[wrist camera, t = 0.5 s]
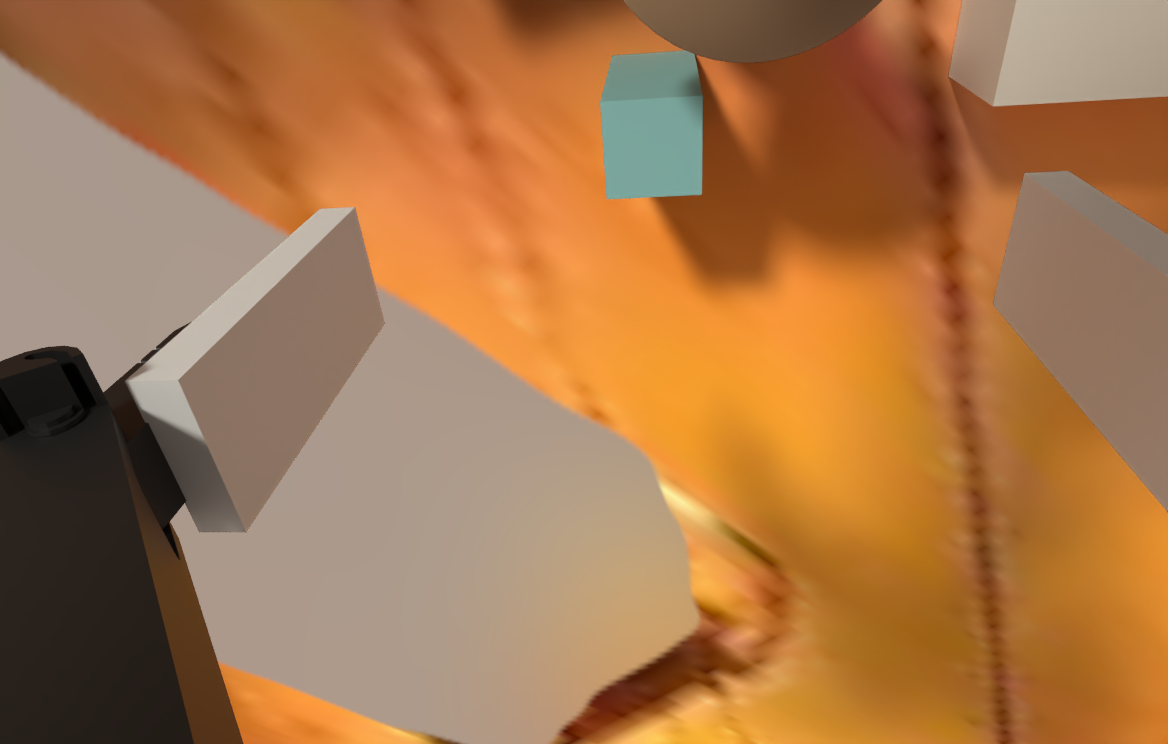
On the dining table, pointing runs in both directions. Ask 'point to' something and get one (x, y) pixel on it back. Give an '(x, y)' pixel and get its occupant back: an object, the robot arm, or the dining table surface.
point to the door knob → (749, 25)
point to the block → (652, 125)
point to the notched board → (1061, 50)
